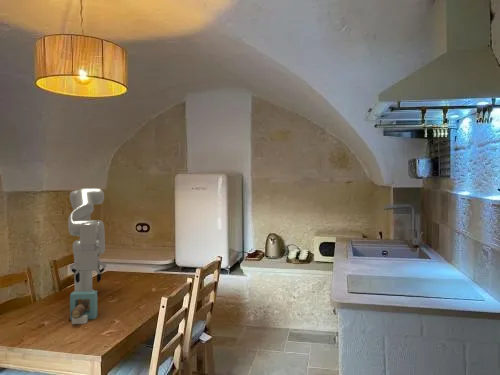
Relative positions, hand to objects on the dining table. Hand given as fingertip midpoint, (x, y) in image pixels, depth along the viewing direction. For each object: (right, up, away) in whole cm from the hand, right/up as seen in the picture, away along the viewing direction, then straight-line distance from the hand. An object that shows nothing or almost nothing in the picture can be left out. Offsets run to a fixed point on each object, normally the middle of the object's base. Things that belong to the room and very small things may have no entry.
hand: (88, 281), depth 198 cm
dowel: (+1, -12, -10) cm, 15 cm away
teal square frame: (+1, -15, -8) cm, 17 cm away
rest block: (+2, -15, -15) cm, 22 cm away
